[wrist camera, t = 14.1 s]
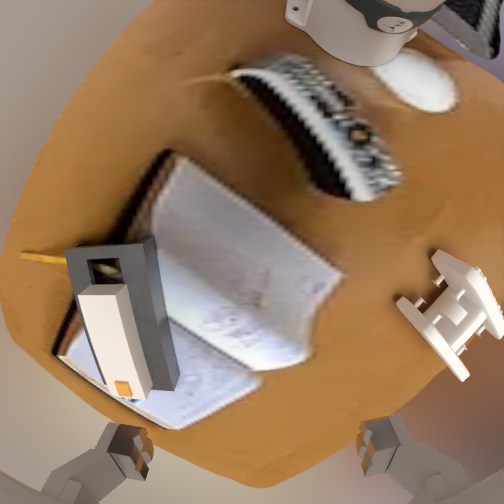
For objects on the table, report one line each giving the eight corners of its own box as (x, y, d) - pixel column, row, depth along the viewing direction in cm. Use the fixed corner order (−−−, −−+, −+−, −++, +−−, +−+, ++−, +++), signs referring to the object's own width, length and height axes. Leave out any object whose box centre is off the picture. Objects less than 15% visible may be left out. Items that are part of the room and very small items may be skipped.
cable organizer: (386, 295, 39) (423, 336, 28) (434, 242, 37) (483, 267, 26) (431, 346, 42) (464, 386, 30) (472, 301, 39) (513, 332, 28)
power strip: (102, 275, 38) (75, 297, 31) (136, 274, 38) (113, 297, 31) (127, 368, 42) (110, 398, 35) (159, 370, 42) (144, 402, 35)
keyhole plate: (79, 241, 38) (64, 249, 34) (154, 235, 37) (142, 243, 33) (113, 369, 44) (104, 384, 39) (180, 374, 43) (174, 391, 39)
